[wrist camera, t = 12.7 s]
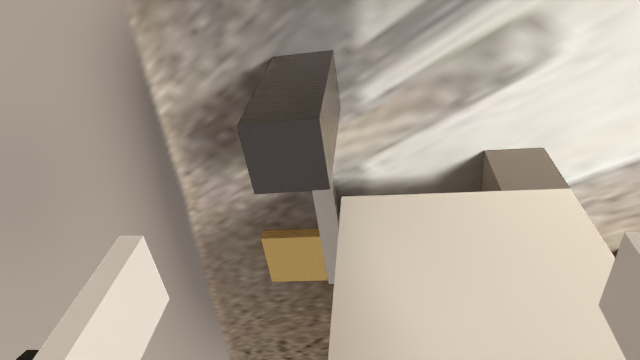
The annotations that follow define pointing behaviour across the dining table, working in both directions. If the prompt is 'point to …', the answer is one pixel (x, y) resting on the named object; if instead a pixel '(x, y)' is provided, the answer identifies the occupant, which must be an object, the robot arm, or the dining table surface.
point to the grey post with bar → (297, 137)
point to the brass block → (294, 255)
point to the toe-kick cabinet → (473, 271)
